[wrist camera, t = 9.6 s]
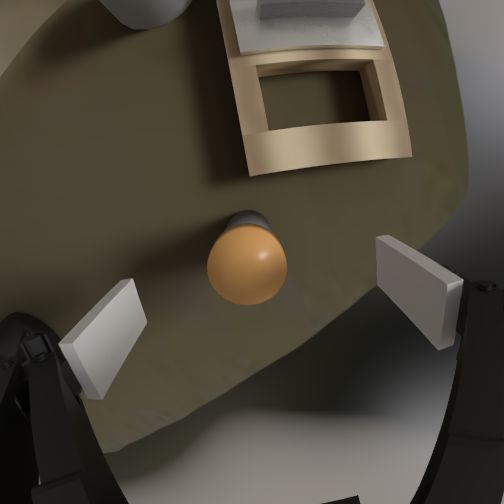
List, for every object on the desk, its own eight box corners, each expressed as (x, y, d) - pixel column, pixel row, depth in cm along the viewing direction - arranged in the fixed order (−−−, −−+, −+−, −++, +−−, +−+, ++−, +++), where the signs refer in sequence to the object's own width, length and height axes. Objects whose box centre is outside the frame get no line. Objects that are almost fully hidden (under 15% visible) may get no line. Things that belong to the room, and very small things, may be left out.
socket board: (249, 175, 25) (249, 176, 22) (214, -10, 20) (210, -28, 16) (394, 156, 25) (412, 156, 21) (348, -16, 19) (358, -32, 16)
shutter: (240, 55, 19) (239, 38, 16) (226, -10, 17) (224, -31, 14) (380, 49, 19) (398, 36, 15) (358, -13, 17) (371, -30, 13)
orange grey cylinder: (227, 260, 27) (215, 310, 18) (218, 211, 26) (199, 236, 16) (277, 252, 27) (291, 298, 18) (269, 203, 26) (281, 223, 16)
